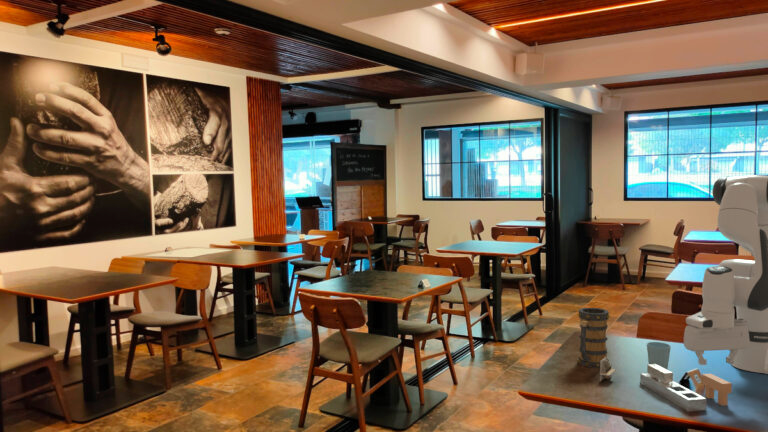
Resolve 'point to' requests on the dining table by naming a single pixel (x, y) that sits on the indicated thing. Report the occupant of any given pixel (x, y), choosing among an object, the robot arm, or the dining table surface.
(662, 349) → the cup
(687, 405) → the rail
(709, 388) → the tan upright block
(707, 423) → the dining table surface
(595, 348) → the mug
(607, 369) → the architectural model
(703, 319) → the robot arm
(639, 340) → the dining table surface
